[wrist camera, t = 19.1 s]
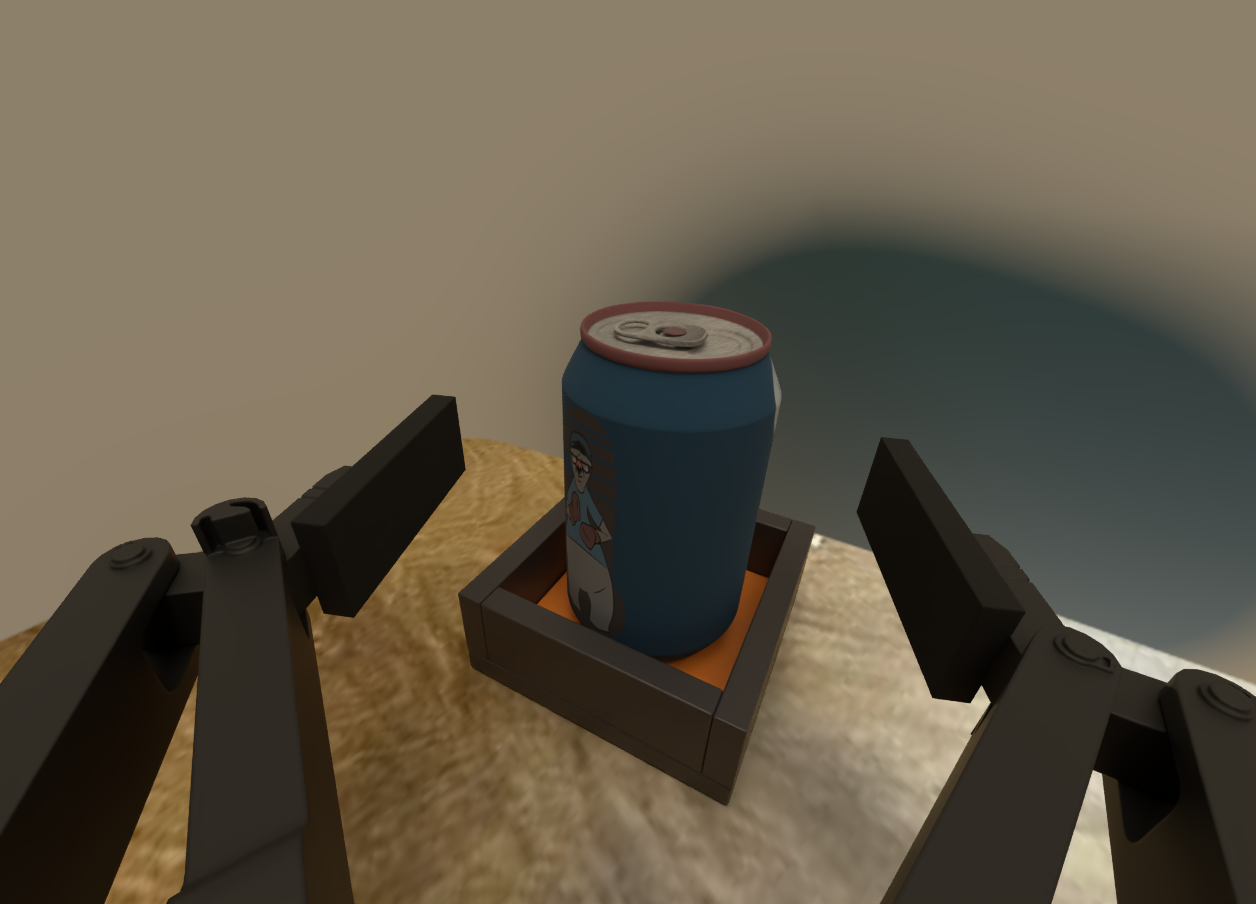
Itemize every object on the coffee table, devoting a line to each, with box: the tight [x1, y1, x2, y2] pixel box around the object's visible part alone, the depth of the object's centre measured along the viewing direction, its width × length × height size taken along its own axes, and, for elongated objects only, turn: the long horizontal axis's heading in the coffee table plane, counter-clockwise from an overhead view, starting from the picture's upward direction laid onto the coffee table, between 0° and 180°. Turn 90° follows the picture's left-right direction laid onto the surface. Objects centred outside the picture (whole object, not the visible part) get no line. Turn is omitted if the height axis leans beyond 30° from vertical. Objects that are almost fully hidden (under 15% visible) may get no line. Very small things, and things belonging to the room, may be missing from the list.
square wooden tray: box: [458, 497, 815, 805], centre depth 21 cm, size 10×10×4 cm
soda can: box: [562, 302, 781, 663], centre depth 19 cm, size 7×7×12 cm
